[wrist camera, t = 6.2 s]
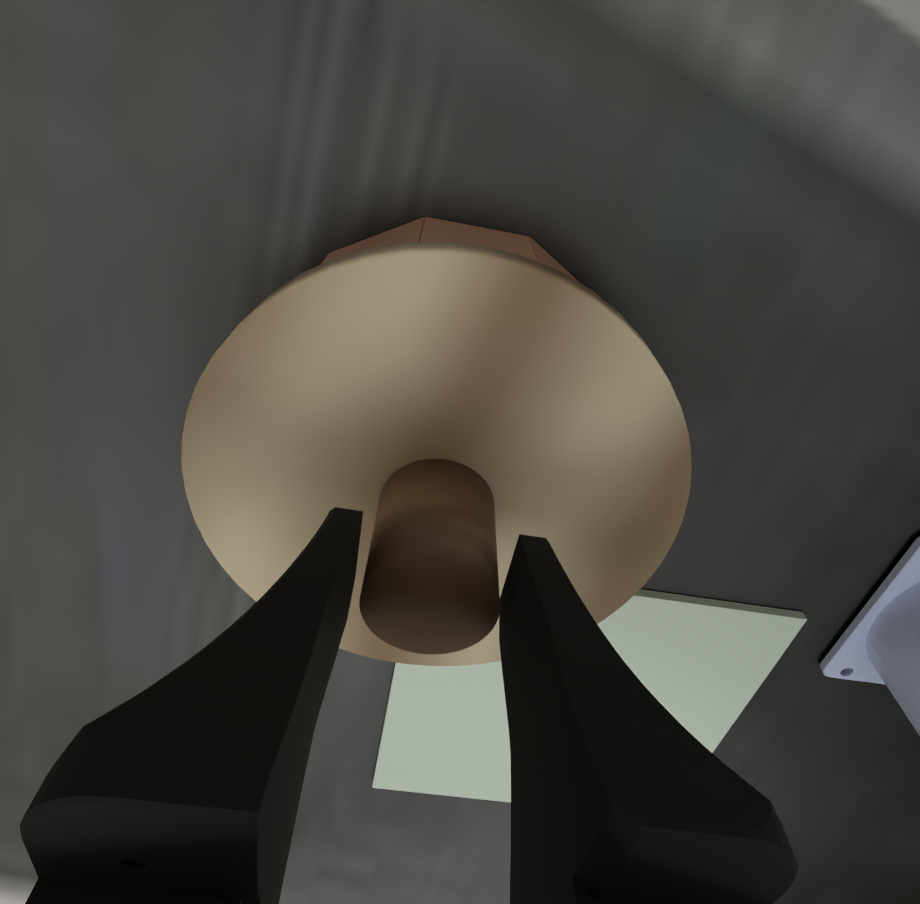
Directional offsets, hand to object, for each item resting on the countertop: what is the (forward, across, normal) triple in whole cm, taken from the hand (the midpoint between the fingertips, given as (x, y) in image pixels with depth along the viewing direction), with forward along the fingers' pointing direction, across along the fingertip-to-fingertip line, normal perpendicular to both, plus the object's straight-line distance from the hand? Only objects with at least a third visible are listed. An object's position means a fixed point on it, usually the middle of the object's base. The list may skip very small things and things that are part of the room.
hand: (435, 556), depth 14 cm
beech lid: (+3, 0, 0) cm, 3 cm away
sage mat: (+7, -8, +15) cm, 19 cm away
